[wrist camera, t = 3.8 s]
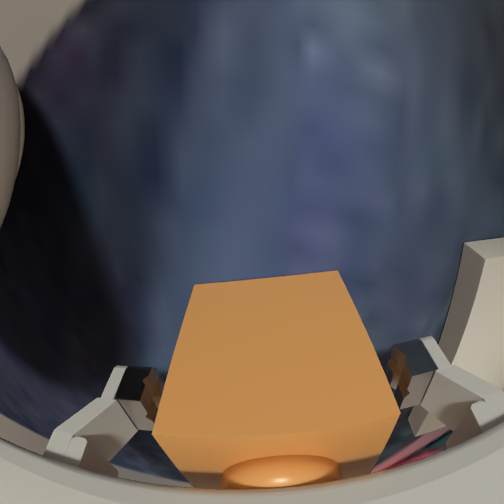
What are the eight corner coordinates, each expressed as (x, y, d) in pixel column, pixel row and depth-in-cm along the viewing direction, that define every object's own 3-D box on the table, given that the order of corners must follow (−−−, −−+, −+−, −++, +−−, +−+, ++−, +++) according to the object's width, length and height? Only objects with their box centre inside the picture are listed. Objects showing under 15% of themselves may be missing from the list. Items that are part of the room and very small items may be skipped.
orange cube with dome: (194, 284, 10) (143, 466, 4) (337, 270, 10) (412, 444, 4) (219, 378, 13) (205, 522, 6) (331, 368, 12) (364, 509, 6)
